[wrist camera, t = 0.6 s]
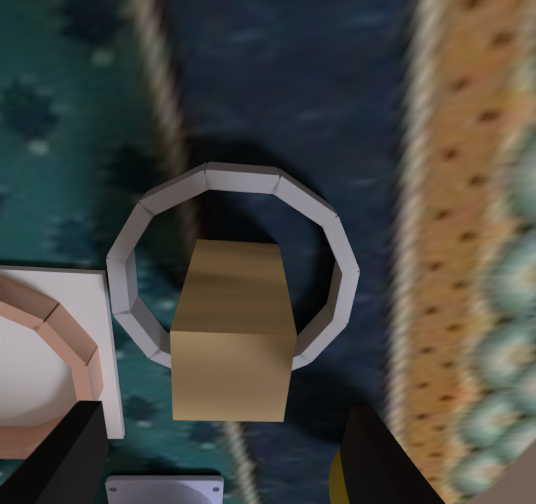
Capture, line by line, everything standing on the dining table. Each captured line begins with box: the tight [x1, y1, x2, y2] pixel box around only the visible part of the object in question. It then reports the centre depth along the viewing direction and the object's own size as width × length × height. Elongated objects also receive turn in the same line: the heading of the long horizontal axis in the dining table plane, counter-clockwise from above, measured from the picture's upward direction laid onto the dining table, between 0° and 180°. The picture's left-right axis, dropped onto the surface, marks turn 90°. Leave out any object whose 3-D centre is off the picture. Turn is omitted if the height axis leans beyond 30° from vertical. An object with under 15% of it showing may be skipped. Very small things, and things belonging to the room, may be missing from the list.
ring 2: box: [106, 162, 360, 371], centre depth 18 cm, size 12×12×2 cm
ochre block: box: [170, 239, 297, 422], centre depth 15 cm, size 4×4×7 cm
